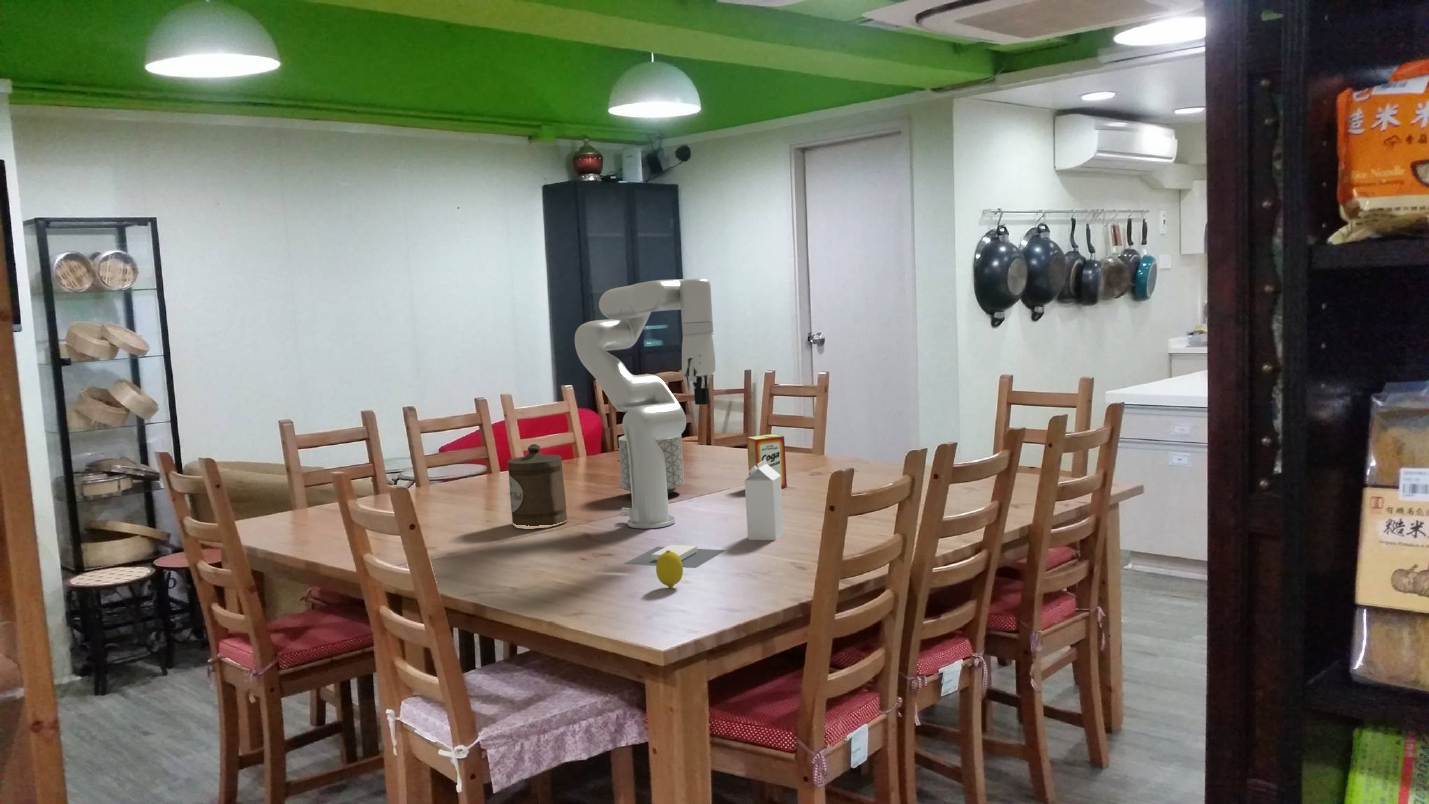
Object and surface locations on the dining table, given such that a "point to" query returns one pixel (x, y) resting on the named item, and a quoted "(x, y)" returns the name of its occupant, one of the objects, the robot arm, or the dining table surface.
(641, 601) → the dining table surface
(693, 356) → the robot arm
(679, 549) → the tile
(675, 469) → the planter
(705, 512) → the dining table surface
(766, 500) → the milk carton
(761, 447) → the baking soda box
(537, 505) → the wooden container
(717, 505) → the dining table surface
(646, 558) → the mat
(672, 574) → the lemon
